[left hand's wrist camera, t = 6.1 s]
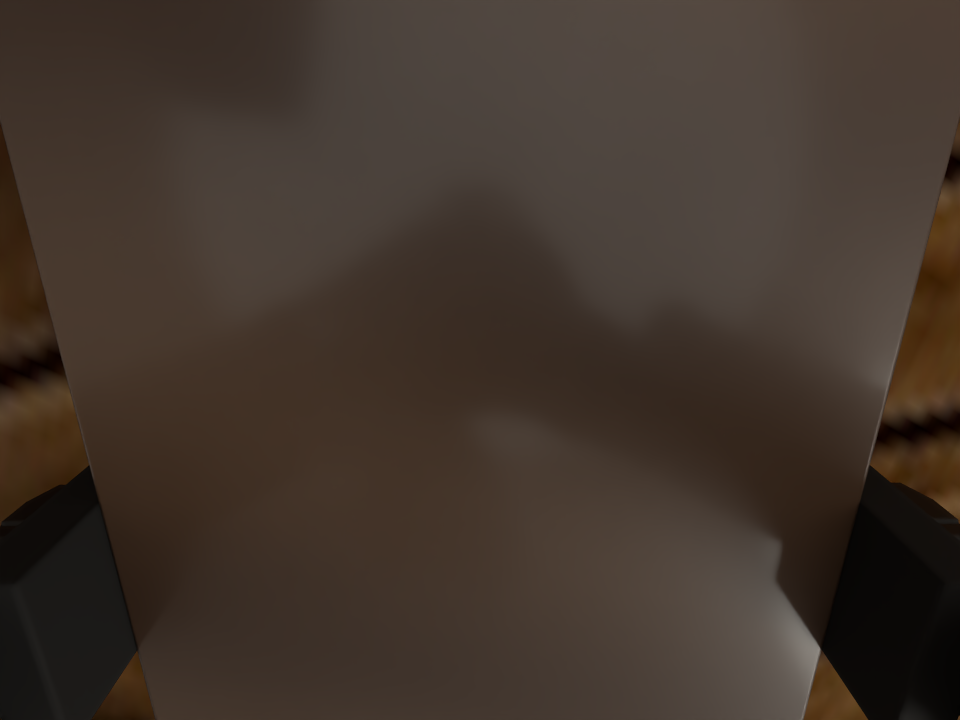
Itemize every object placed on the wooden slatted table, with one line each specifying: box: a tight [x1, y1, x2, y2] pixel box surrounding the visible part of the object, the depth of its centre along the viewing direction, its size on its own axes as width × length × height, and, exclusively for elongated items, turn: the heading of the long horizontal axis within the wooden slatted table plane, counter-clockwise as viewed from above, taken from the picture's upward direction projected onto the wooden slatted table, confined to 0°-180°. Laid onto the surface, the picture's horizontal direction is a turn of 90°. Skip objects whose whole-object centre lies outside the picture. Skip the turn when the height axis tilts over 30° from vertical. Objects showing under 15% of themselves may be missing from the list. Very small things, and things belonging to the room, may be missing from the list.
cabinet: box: [0, 0, 960, 720], centre depth 11 cm, size 21×11×11 cm, turn 0°
